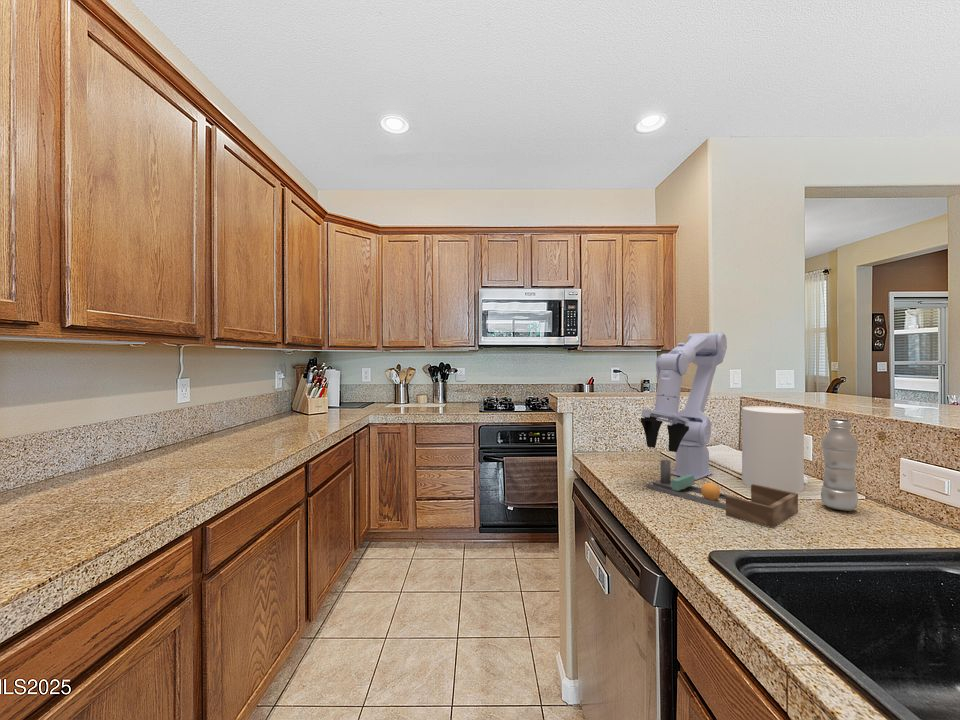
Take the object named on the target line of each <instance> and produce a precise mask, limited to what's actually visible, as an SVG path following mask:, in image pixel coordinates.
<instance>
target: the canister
mask: <svg viewBox="0 0 960 720" xmlns="http://www.w3.org/2000/svg"><path fill="white" fill-rule="evenodd" d="M741 423H742V424H741V482H742V483H743V484H744V485H745V486H747V487H749V488H751V485H752V484H755V485H760V486H764V487H769V488H774V489H778V490H783V491H787V492H792V493H796V492H799V493H802V492H803V491H804V490H805V467H804V466H805V465H804V464H805V411H804V410H803V409H798V408H792V407H785V406H783V407H782V406H768V405H765V406H764V405H763V406H762V405H760V406H759V405H758V406H757V405H751V406H743V407H741ZM801 491H802V492H801ZM796 494H797V493H796Z"/></svg>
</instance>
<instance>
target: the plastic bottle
mask: <svg viewBox="0 0 960 720" xmlns="http://www.w3.org/2000/svg"><path fill="white" fill-rule="evenodd" d="M828 428H829V429H830V430H829V431H827V432H826V434H825V435H824V436H823V438H822V439H821V450H822V455H823V456H822V457H823V465H824V468H823V469H824V472H823V481H822V482H823V483H822V485H821V490H820V498H821V502H822V503H823V505H824V506H825V507H827V508H830V509H833V510H838V511H845V512H853V511H854V510H855V509H856V508H858V504H859V496H858V492H857V487H856V477H855V475H856V471H855V470H856V466H857V465H856V462H857V458H858V452H859V443H858V441H857V439H856V438H855V436H854V435H853V434H852V433H851V432H850V430H852V427H851V420H849V419H843V418H830V419H829V424H828Z"/></svg>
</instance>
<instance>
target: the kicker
mask: <svg viewBox="0 0 960 720" xmlns="http://www.w3.org/2000/svg"><path fill="white" fill-rule="evenodd" d="M670 472H671V460H667V459H661V460H660V479H659V480H656V481H653V482H652V484H653V485H657V486H661V487H665V488H668V489H672V490H676V491H682V490H685V489H684V488H686V487H689V486H694V485H695V480H694V475H691V474H687V475H684V476H678V477H675V478H673V479H671V477H672V476H671V475H672V474H671V473H670Z"/></svg>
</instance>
